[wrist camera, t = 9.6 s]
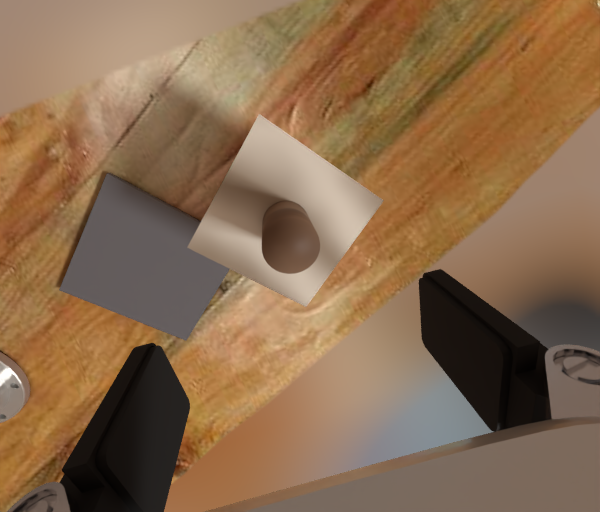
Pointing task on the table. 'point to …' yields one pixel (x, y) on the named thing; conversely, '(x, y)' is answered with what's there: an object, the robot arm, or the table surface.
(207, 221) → the lid
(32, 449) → the table surface
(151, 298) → the mat
